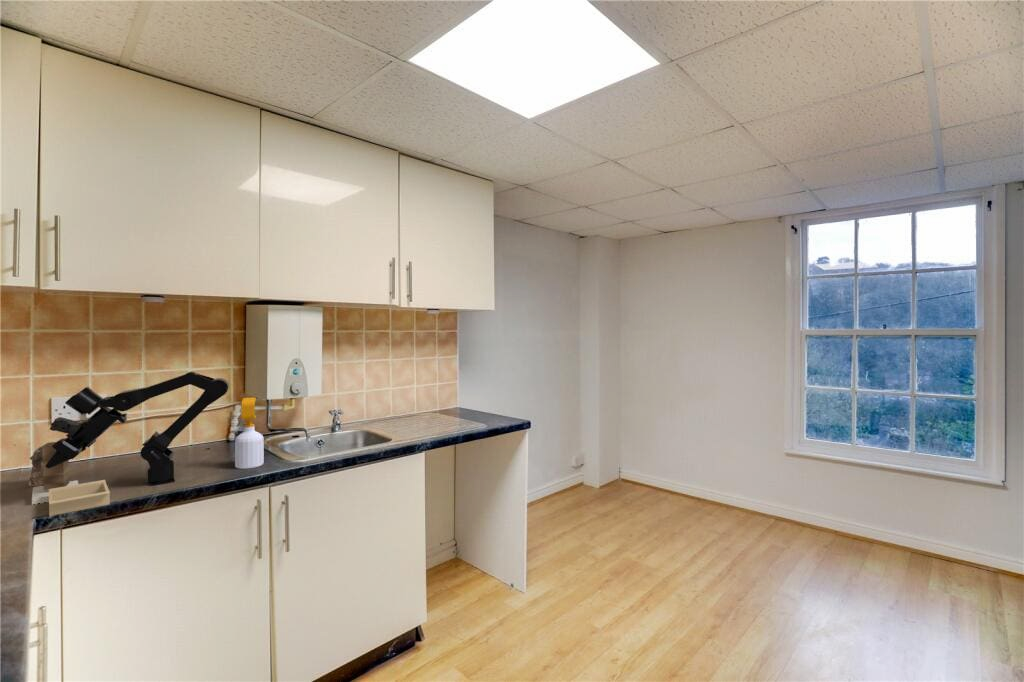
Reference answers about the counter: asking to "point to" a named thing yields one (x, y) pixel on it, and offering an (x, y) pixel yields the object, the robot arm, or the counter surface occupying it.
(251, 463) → the soap bottle
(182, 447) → the counter surface
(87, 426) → the robot arm
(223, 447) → the counter surface
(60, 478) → the walnut box
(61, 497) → the light wooden tray
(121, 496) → the counter surface
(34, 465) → the figurine
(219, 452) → the counter surface
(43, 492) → the tile
